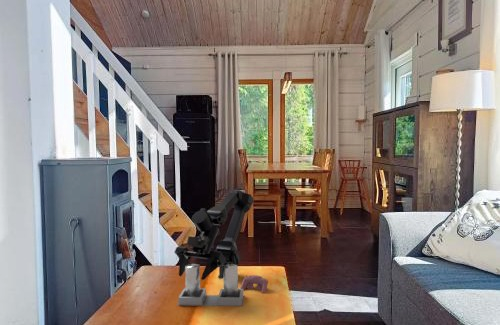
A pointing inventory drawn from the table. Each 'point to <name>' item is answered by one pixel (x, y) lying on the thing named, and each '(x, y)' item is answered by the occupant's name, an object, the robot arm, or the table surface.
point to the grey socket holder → (211, 299)
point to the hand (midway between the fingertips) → (190, 277)
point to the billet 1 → (192, 280)
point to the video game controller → (255, 279)
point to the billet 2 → (230, 280)
